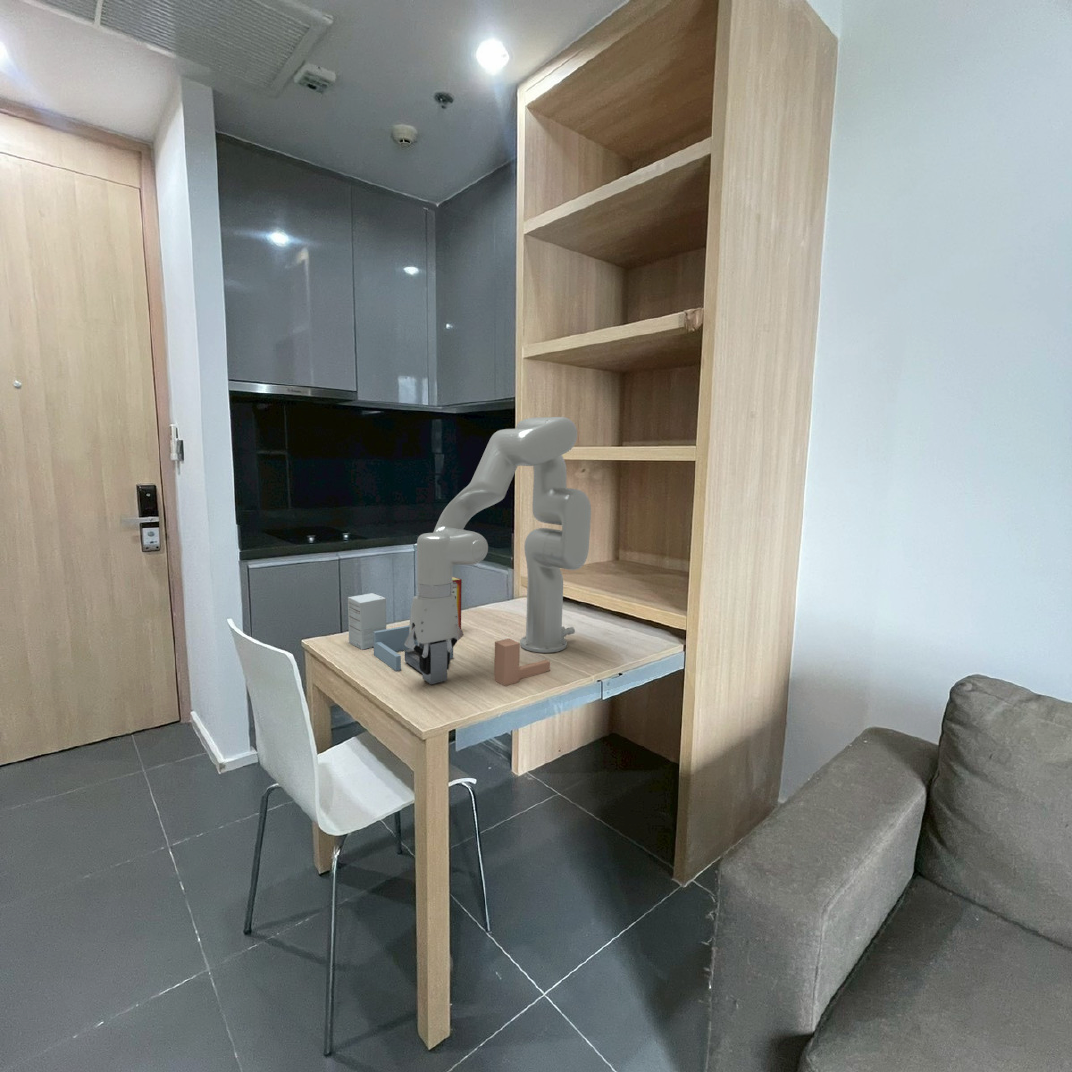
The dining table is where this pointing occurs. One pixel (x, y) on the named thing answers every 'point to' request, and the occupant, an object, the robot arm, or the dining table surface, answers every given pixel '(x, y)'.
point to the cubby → (392, 645)
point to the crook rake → (431, 661)
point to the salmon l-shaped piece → (513, 663)
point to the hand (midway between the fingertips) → (434, 669)
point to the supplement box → (365, 619)
